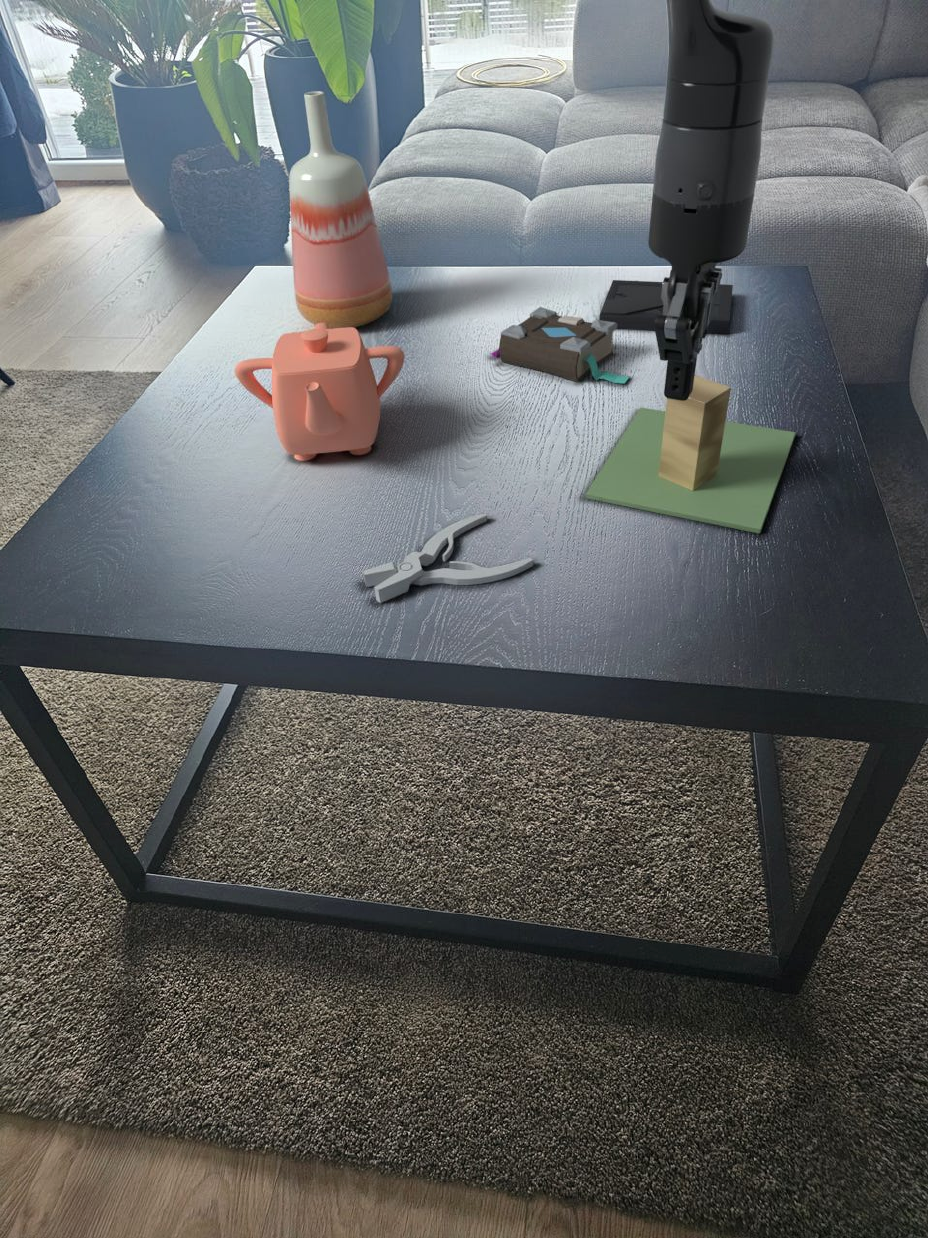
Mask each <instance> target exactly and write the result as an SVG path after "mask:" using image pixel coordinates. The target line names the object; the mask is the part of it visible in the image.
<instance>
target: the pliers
mask: <svg viewBox="0 0 928 1238" xmlns="http://www.w3.org/2000/svg"><path fill="white" fill-rule="evenodd" d="M487 520H488V517H487V514H486V513H485V512H483V513H479V514H476V515H472V516H469V517H466V518H463V519H461V520H458V521H456V522H454V523H452V524H450V525H448V526H446V527H445V528H443V529H441V530H440V531H438V532H437V533H436V534H434V535H433V536H431V538H430V539H428V541H427V542H425V544H424V545H423V547H422V549H421V551H412V552H411V553H408V555H405V557H404V559H403V561H402V562H400V563H398V565H397V566H396V564H395V563H394V562H393V561H390V562H386V563H384V564H380V565H378V566H375V567H372V568H368V569H365V570H363V578H364V583H365V588H370V587H373V589H374V594H375V601H376V602H377V603H379V604H382V603H384V602H386V601H390V600H391V599H394V598H396V597H398V596H400V595H402V594H404V593H405V594H406V593H408V592H409V589H410V586H411V585H416V586H426V585H431V584H447V585H454V586H470V585H471V586H473V585H481V584H486V583H487V584H488V583H491V582H493V583H494V582H497V581H501V580H504V579H508V578H511V577H513V576H516V575H519V574H521V573H522V572H524V571H526V570H528V569H530V568H532V567H533V566H534V558H532V557H527V558H524V559H520V560H518V561H514V562H510V563H507V564H503V565H502V564H501V565H498V566H493V567H492V566H491V567H484V566H481V565H479V564H476V563H473V562H468V561H449V568H448V567H447V568H446V567H442V568H437V569H432V570H427V571H425V570H423V568H422V567H429V566H430V565H431V564H433V563H434V562H435V561H436V559H437V558H438V556H439V554H440V552H441V551H442V550H443V548H444V547H445V546H446V545H448V547H447V549H446V551H445V552H444V553H443V554H442V556H441V557H442V562H444V563H445V562H447V560H448V559H449V558H450V557H451V555H452V554H453V551H454V539H456V538H457V537H459V536H460V535H462V534H463V533H465V532H467V531H469V530H471V529H472V528H473V529H474V528H475V527H478V526H479V525H482V524H484V523H487Z"/></svg>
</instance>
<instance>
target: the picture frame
mask: <svg viewBox="0 0 928 1238" xmlns="http://www.w3.org/2000/svg"><path fill="white" fill-rule="evenodd" d="M662 284H663V281H649V280H648V281H646V280H622V279H612V281H611V284H610V286H609V290H608V292H607V295H606V297H605V299H604V302H603V305H602V308H601V310H600V314H599V319H598V320H601V321H608V322H615V323H617V329H619V330H620V329H621V330H639V331H640V330H641V331H655V326H654V322H655V319H656V318H657V316H658V315H663V306H664V303H663V301H662V299H661V293H662ZM733 289H734V285H733V284H721V283H720V287H719V289H718V290H717V294H716V298H715V302H714V306H713V312H712V319H711V322H710V323H709V326H708V334H716V335H717V334H718V335H728V334H729V329H730V321H731V310H732V300H733ZM617 329H616V330H617Z"/></svg>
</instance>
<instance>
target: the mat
mask: <svg viewBox="0 0 928 1238" xmlns="http://www.w3.org/2000/svg"><path fill="white" fill-rule="evenodd" d="M665 412H666V410H659V409H653V408H647V407H640V408H639V410H638V411H637V413H636V414H635V416H634V417H633V419H632V420H631V422H630V424H629V425H628V427H627V428H626V430H625V432H624V433H623V434H622V436H621V438H620V439H619V441H618V442H617V444H616V446H615V447H614V449H613V450H612V452H611V453H610V455H609V456H608V458H607V460H606V461H605V462H604V465H603V466H602V467H601V469H600V471H599V472H598V474H597V475H596V476H595V478H594V480H593V482H592V483H591V485H590V486H589V488H588V490H587V491H586V492H585V496H584V497H585V499H587V500H592V501H597V502H603V503H607V504H611V505H618V506H622V507H627V508H632V509H637V510H642V511H645V512H651V513H656V514H662V515H666V516H671V517H675V518H681V519H685V520H691V521H694V522H695V521H696V522H701V523H704V524H711V525H715V526H720V527H725V528H730V529H734V530H739V531H744V532H749V533H753V534H759V535H760V534H761V532H762V530H763V527H764V524H765V521H766V518H767V516H768V514H769V510H770V507H771V505H772V502H773V499H774V497H775V494H776V491H777V488H778V485H779V483H780V480H781V476H782V474H783V472H784V468H785V465H786V463H787V460H788V457H789V454H790V452H791V449H792V446H793V444H794V441H795V438H796V434H797V433H796V432H795V431H789V430H784V429H777V428H771V427H766V426H765V427H764V426H758V425H753V424H745V423H741V422H733V421H727V420H726V421H725V428H724V434H723V440H722V446H721V452H720V459H719V465H718V471H717V474H716V475H715V476H714V477H712V478H711V479H709V480H708V481H706V482H705V483H704V484H702V485H701V486H699V487H698V488H696V489H695V490H694V491H692V490H689V489H687V488H685V487H682V486H680V485H678V484H675V483H673V482H671V481H668V480H666V479H664V478H662V477H659V467H660V458H661V449H662V439H663V430H664V421H665Z"/></svg>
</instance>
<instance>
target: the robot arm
mask: <svg viewBox="0 0 928 1238" xmlns="http://www.w3.org/2000/svg"><path fill="white" fill-rule="evenodd" d="M665 10H666V20H667V65H666V66H667V68H666V78H665V87H664V88H665V90H664V101H663V109H662V121H661V128H660V133H659V138H658V143H657V147H656V153H655V161H654V172H653V173H654V175H653V185H652V187H653V188H652V194H651V195H652V198H651V205H650V206H651V207H650V219H649V231H648V240H647V241H648V244H647V245H648V248H649V250H650V251H651V253H652V254H654V256H656V257H658V258H660V259H663V260H665V261H667V263H669V264H670V265H671V269H670V272H669V277H667V276H665V277H664V278H663V281H662V282H663V284H662V293H661V299H662V301H663V303H664V306H663V315H658V316H657V318H656V319H655V322H654V326H655V330H654V332H655V337H656V338H655V339H656V343H657V350H658V355H659V360H660V361H665V362H666V361H667V362H666V372H665V380H664V381H665V382H664V390H663V394H664V397H665V398H666V399H667V398H669V399H675V400H681V401H685V400H687V399H688V397H689V396H690V394H691V392H692V390H693V384H694V376H695V375H696V368H697V360H698V355H700V352H701V351H702V350H703V340H705V339H706V336H707V335H708V334H709V333H708V326H709V323H710V322H711V319H712V312H713V306H714V302H715V298H716V294H717V290H718V289H719V287H720V284H721V280H722V277H723V270H722V267H721V268H720V267H717V264H720V263H724V262H728V261H731V260H733V259H735V258H737V257H738V256H740V255H741V254H742V253H743V252H744V250H746V246H747V241H748V235H749V229H750V223H751V218H752V217H751V216H752V209H753V203H754V198H755V192H756V185H757V179H758V172H759V168H760V167H759V166H760V161H761V152H762V130H763V129H762V127H763V117H764V113H765V108H766V107H765V106H766V99H767V94H768V87H769V81H770V80H769V79H770V74H771V68H772V64H773V63H772V62H773V57H774V56H773V55H774V48H775V47H774V46H775V45H774V44H775V34H774V29H773V27H772V26H771V25H770V24H769V23H768V22H767V21H766V20H765V19H762V18H759V17H756V16H752V15H747V14H743V13H739V12H738V13H737V12H731V11H727V10H724V9H720V8H718V7H716V5H714V4H713V2H712V1H711V0H665Z"/></svg>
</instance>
